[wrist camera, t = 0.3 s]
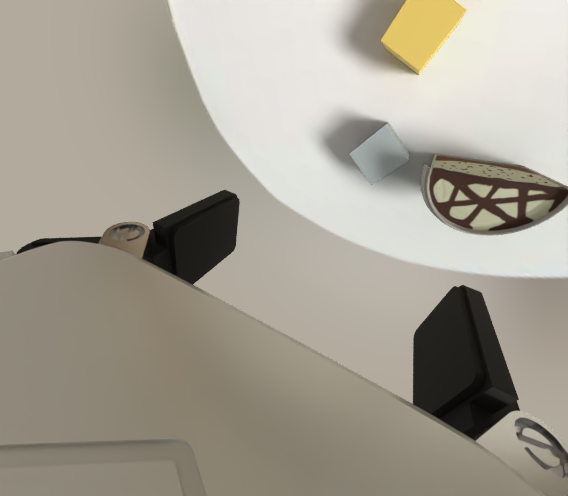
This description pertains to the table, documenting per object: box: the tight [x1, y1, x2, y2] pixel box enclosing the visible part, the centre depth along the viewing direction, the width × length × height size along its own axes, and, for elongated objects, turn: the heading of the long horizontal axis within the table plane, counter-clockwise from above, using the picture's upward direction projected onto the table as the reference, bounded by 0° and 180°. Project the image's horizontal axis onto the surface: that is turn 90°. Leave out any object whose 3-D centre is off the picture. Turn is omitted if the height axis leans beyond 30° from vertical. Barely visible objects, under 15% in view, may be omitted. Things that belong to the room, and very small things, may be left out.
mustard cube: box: [381, 0, 466, 75], centre depth 25 cm, size 5×5×5 cm
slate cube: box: [349, 122, 409, 185], centre depth 32 cm, size 5×5×5 cm
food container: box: [421, 154, 568, 235], centre depth 27 cm, size 12×6×10 cm, turn 86°
